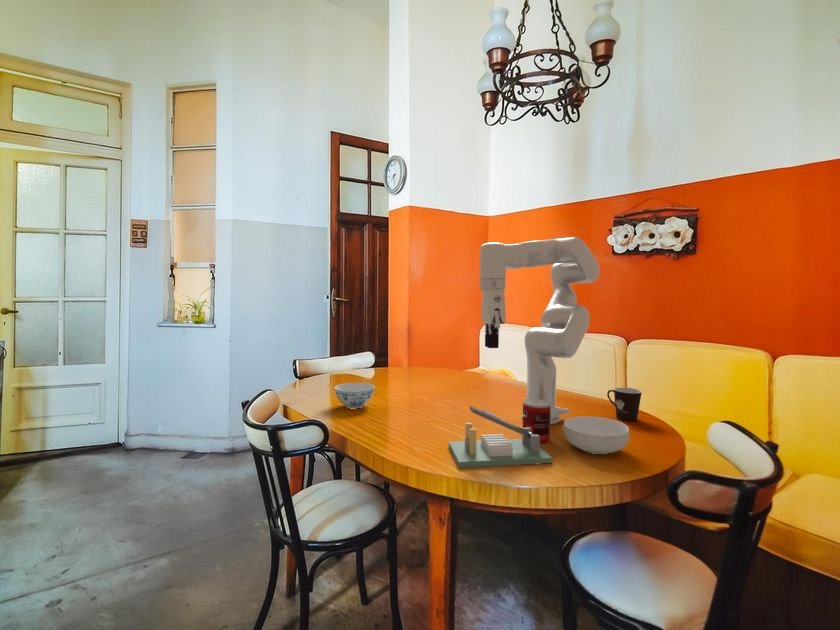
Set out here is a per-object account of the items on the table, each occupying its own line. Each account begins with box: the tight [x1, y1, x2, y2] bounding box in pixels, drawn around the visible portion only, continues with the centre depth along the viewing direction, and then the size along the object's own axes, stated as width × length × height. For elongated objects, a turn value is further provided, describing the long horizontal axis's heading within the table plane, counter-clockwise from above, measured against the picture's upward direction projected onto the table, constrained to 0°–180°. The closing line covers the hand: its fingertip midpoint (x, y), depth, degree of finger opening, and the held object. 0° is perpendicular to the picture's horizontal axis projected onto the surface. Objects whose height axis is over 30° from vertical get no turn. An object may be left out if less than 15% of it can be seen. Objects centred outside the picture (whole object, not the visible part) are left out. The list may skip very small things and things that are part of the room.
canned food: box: [522, 398, 551, 443], centre depth 123 cm, size 8×8×11 cm
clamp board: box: [448, 422, 553, 469], centre depth 110 cm, size 24×14×8 cm, turn 96°
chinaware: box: [334, 382, 376, 409], centre depth 156 cm, size 15×15×8 cm
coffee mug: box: [606, 387, 642, 423], centre depth 144 cm, size 12×9×10 cm
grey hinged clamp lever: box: [469, 405, 534, 438], centre depth 110 cm, size 19×4×2 cm, turn 98°
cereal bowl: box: [563, 415, 630, 455], centre depth 114 cm, size 17×17×7 cm
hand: (491, 347), depth 123 cm, fingers closed
